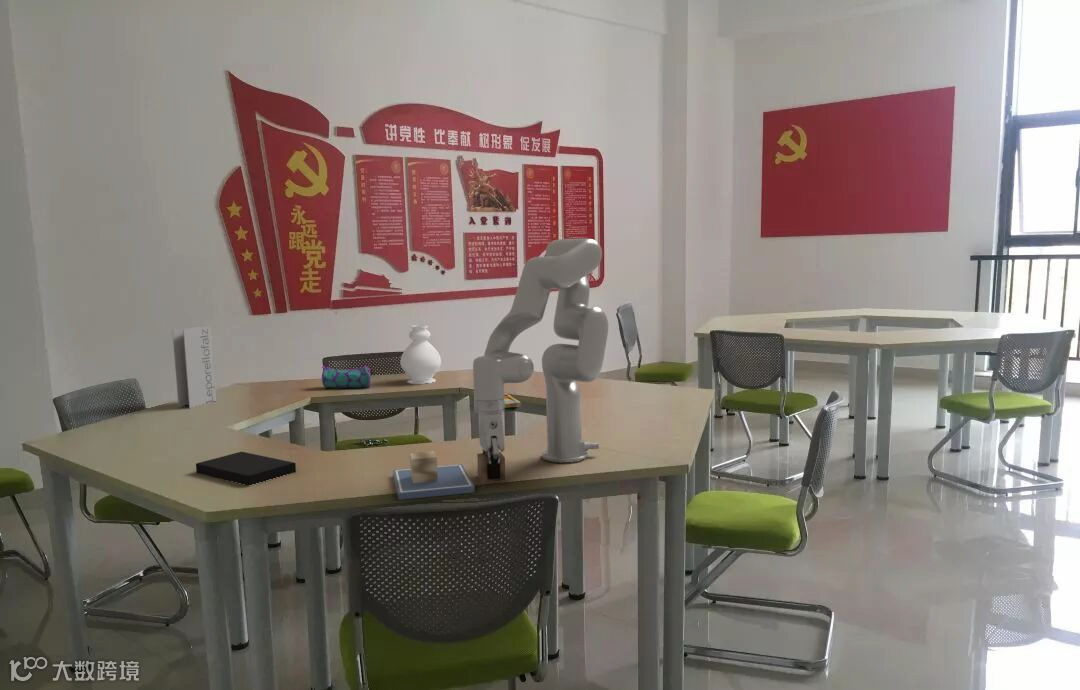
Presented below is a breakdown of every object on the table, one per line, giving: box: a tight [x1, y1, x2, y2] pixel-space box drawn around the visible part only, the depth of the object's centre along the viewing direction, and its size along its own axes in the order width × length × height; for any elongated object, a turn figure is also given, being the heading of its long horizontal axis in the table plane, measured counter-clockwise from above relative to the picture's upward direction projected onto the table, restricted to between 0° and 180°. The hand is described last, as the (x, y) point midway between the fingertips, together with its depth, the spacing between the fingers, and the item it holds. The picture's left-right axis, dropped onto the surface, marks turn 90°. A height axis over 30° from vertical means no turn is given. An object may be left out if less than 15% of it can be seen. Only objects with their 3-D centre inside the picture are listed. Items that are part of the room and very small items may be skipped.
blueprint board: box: [392, 463, 475, 501], centre depth 192 cm, size 18×20×2 cm
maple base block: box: [409, 450, 438, 483], centre depth 191 cm, size 6×6×6 cm
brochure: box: [171, 325, 217, 409], centre depth 300 cm, size 14×6×30 cm, turn 161°
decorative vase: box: [399, 324, 442, 385], centre depth 341 cm, size 18×18×25 cm
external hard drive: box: [195, 451, 297, 486], centre depth 206 cm, size 14×23×3 cm, turn 56°
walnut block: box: [477, 451, 507, 484], centre depth 196 cm, size 6×6×6 cm
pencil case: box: [321, 365, 374, 389], centre depth 331 cm, size 21×9×10 cm, turn 92°
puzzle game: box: [504, 392, 522, 412], centre depth 282 cm, size 12×5×20 cm
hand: (491, 474), depth 196 cm, fingers open, 6 cm apart
